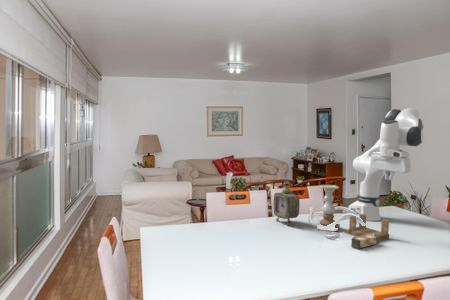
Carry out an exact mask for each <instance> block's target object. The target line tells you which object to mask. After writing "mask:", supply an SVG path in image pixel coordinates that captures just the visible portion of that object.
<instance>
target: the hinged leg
mask: <svg viewBox="0 0 450 300" xmlns="http://www.w3.org/2000/svg"><path fill="white" fill-rule="evenodd" d="M379 242H380V241H379V237H378V236H377V237H376V236H373V235H367V236H363V237H358V238H353V237H352V238H351V243H350V244H351V248H354V249H357V250H360V249H362V248H366V247H369V246H373V245H374V246H375V245H377V244H379ZM376 243H377V244H376Z"/></svg>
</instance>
